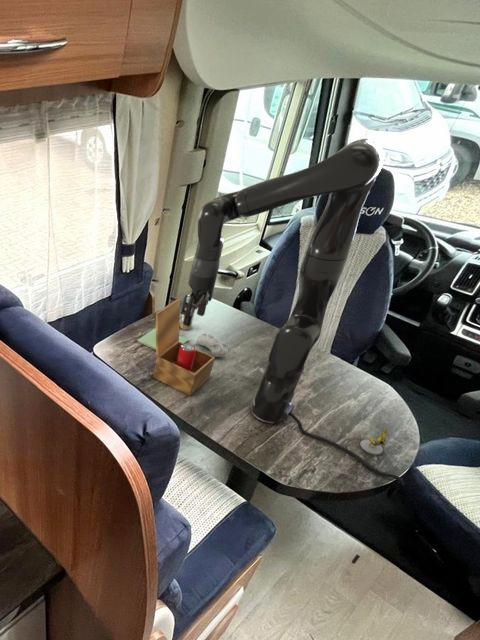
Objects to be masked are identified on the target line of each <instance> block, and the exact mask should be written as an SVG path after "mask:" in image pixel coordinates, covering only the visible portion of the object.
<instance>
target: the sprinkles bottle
mask: <svg viewBox="0 0 480 640" xmlns="http://www.w3.org/2000/svg"><path fill="white" fill-rule="evenodd" d="M186 295H187V296H189V295H190V294H186ZM193 305H194V306H195V304H193ZM191 310H192V309H191ZM195 313H196V310H195V311H194V313H193V315H192V320H191V325H190V326H186V325H184V324H183V320H184V315H183V314H181V320H180V323H179V328H180V329H181V330H185V331H189V330H191V329H192V325H193V321H194V316H195Z"/></svg>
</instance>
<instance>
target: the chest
mask: <svg viewBox="0 0 480 640" xmlns="http://www.w3.org/2000/svg"><path fill="white" fill-rule="evenodd" d="M182 344H183V343H181V342H179V341H177V342H176V343H175V344H173V345H172V346H171V347H169V348H168V349H167V350H166V351H164V352H163V353H161V354H160V355H159V356H156V360H155V366H154V372H153V377H152V378H154V379H155V380H158V381H159V382H162V383H163V384H165V385H168V386H170V387H171V388H173V389H175V390H178V391H180V393H184V394H185V395H188V396H191V395H193V394H194V393H195V392H196V391H197V390H199V388H201V386H202V385H203V384H204V383H205V382H207V380H209V379H210V377H211V375H212V370H213V366H214V364H215V359H216V357H214V356H212V354H209V353H206V352H204V351H202V350H199V349H197V348H196V353H195V357H194V361H193V365H192V369H191V372H190V371H188V370H186V369H184V368H182V367H180V366H177V365H176V363H177V359H178V354H179V349H180V347H181V345H182Z"/></svg>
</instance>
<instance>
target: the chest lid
mask: <svg viewBox="0 0 480 640" xmlns="http://www.w3.org/2000/svg"><path fill="white" fill-rule="evenodd" d="M180 309H181V299H180V298H177V299H175V300H173V301H172V302H171V303H169V304H167V305H166V306H164V307H163V308H162V309H160V310H158V311H157V312H156V313H155V328H156V350H155V356H156V357H158V356H159V355H160V354H162V353H163V352H164V351H165V350H167V349H168V348H169V347H171V346H172V345H173V344H175V343H176V342H177V341H179V335H180V317H181V316H180V314H181V311H180Z"/></svg>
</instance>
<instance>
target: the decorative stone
mask: <svg viewBox="0 0 480 640" xmlns="http://www.w3.org/2000/svg"><path fill="white" fill-rule="evenodd" d="M195 341H196V344H197V345H200V346H204V347H206V348H207V349H208V350H210V353H211V354H210V355H211V356H213V357H215V358H223V357H225V356H226V355H227V354H228V352H229V351H230V345H229V344H227V343H225V342H223V341H222V340H220V338H218V337H215V335H213V334H212V333H211V334H210V333H200V334H198V336H197V337H196V339H195ZM225 347H226V348H227V349H226V348H225Z"/></svg>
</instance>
